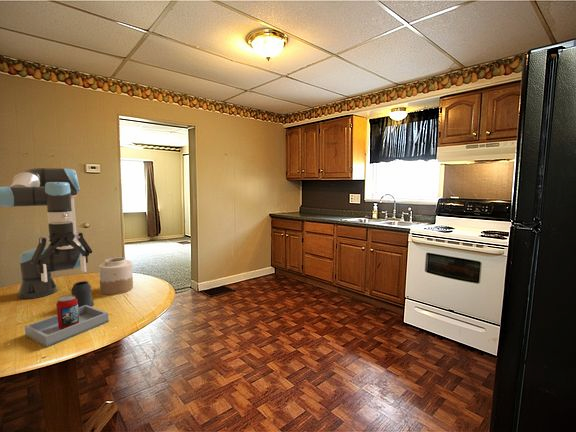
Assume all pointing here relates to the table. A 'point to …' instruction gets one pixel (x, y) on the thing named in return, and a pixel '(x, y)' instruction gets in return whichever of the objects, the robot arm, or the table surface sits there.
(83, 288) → the mug
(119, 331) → the table surface
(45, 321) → the bin
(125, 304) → the table surface
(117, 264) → the vase
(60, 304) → the beverage can
